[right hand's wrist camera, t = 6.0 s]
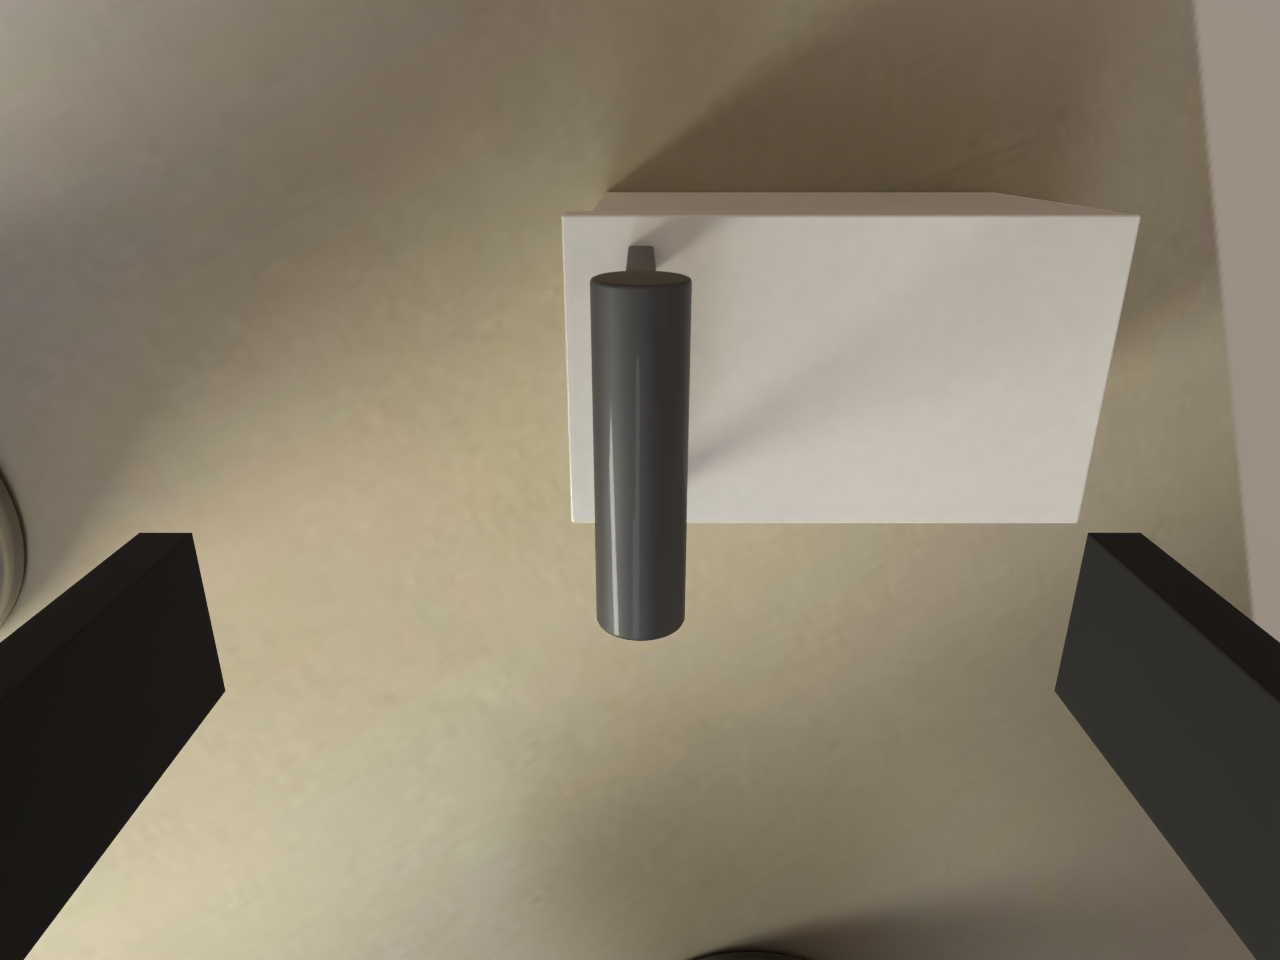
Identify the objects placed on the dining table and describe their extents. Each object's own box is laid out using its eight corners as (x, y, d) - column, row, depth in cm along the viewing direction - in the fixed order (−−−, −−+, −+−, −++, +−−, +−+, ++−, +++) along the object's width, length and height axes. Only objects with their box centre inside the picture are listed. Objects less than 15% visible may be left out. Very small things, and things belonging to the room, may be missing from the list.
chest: (608, 420, 37) (597, 507, 28) (605, 192, 33) (592, 210, 25) (961, 420, 37) (1059, 507, 28) (994, 192, 33) (1118, 210, 25)
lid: (574, 507, 28) (544, 667, 20) (565, 210, 25) (525, 248, 16) (1060, 507, 28) (1242, 668, 20) (1119, 210, 25) (1369, 249, 16)
